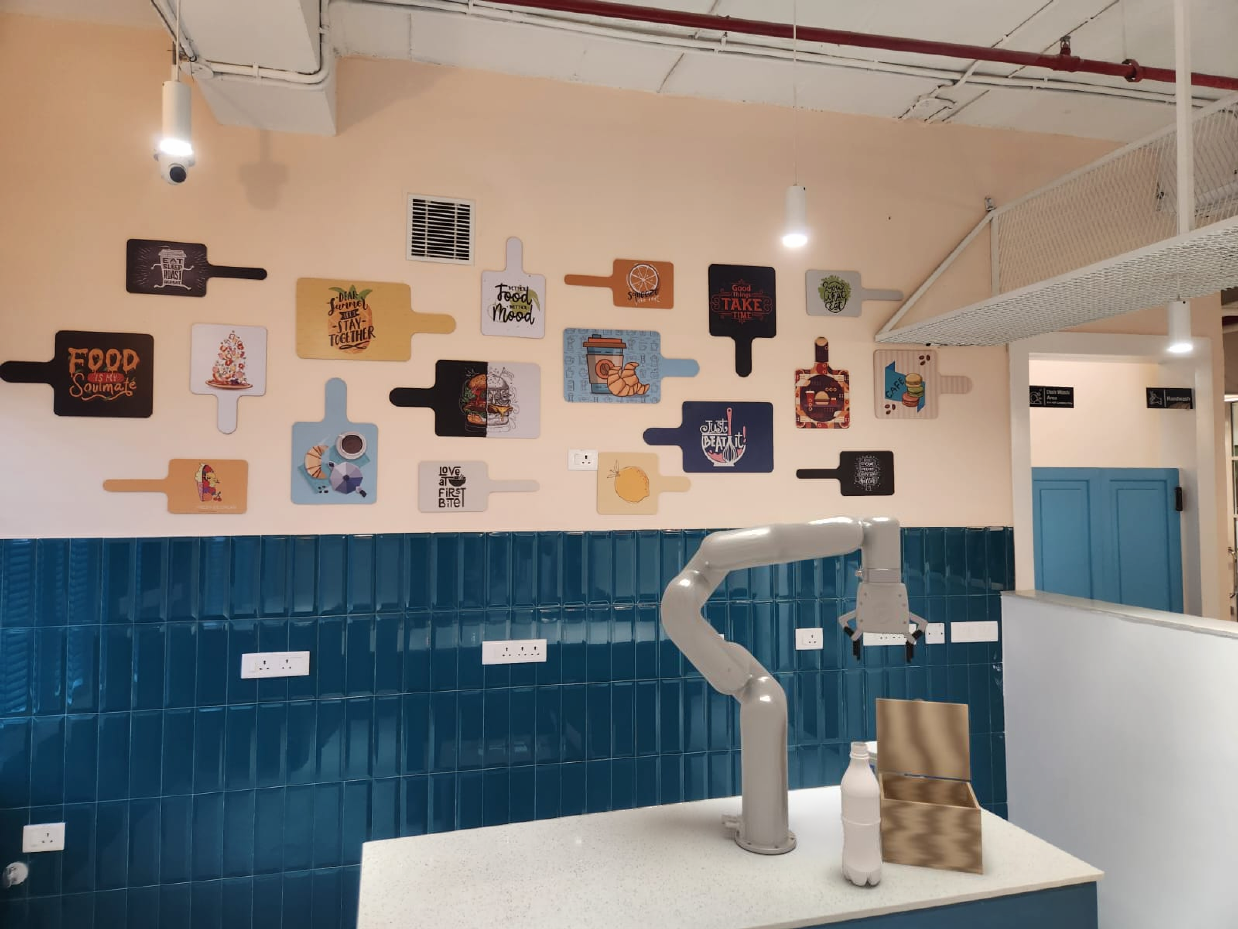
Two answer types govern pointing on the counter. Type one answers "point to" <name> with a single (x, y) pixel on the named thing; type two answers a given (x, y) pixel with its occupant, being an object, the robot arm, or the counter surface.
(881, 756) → the lid
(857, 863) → the water bottle
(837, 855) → the counter surface
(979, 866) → the wooden box
